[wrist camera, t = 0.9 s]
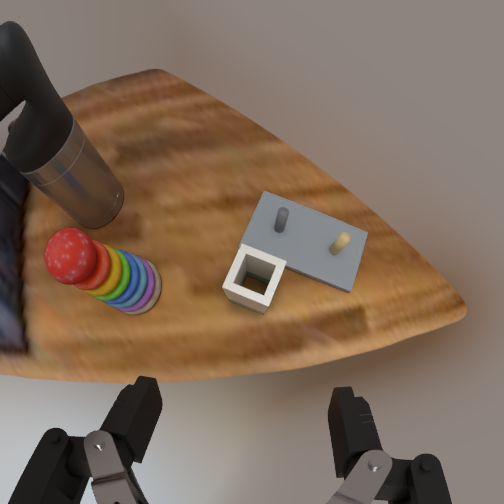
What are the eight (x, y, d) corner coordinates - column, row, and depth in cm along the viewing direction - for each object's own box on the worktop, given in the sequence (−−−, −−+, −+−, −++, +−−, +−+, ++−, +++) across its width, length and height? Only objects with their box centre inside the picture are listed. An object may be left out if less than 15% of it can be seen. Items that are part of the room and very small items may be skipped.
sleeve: (229, 300, 37) (222, 287, 28) (243, 267, 39) (241, 243, 29) (263, 314, 37) (268, 306, 27) (277, 281, 38) (286, 261, 29)
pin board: (238, 249, 39) (237, 232, 33) (263, 194, 42) (265, 171, 36) (347, 292, 38) (364, 284, 32) (364, 235, 40) (381, 218, 34)
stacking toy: (120, 254, 39) (45, 195, 21) (169, 265, 39) (110, 206, 21) (105, 306, 37) (17, 277, 19) (155, 321, 36) (80, 303, 18)
